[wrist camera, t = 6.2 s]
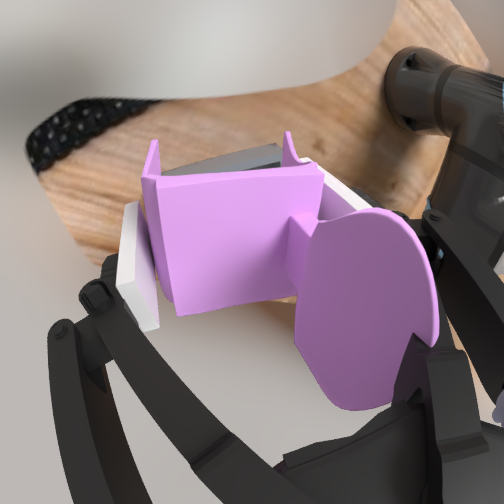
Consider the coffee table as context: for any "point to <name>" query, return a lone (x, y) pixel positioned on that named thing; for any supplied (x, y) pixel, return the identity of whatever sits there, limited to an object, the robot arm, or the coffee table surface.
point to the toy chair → (296, 267)
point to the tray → (235, 162)
